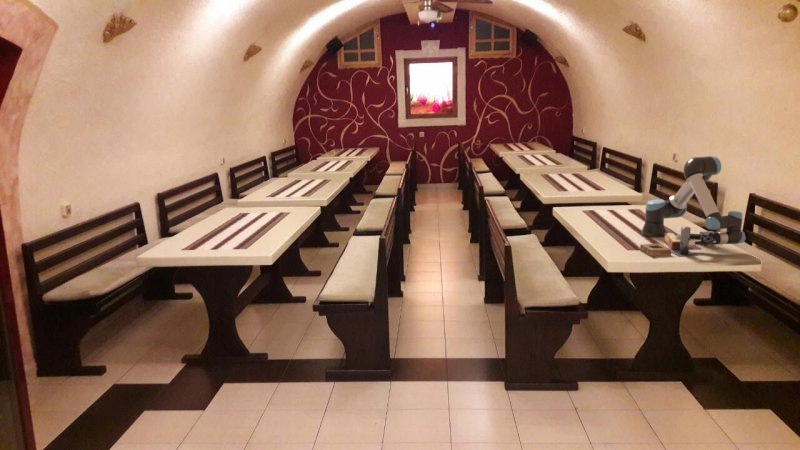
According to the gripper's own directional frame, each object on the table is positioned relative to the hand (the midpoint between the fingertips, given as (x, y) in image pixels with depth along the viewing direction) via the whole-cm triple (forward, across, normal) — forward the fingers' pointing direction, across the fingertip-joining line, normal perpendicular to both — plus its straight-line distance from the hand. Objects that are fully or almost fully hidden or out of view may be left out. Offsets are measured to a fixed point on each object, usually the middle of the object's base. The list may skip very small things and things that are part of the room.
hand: (682, 240), depth 342 cm
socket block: (+14, +5, -9) cm, 17 cm away
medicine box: (-26, +17, -9) cm, 32 cm away
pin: (-1, 0, -8) cm, 9 cm away
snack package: (-4, +18, -9) cm, 21 cm away
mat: (-1, 0, -9) cm, 9 cm away
